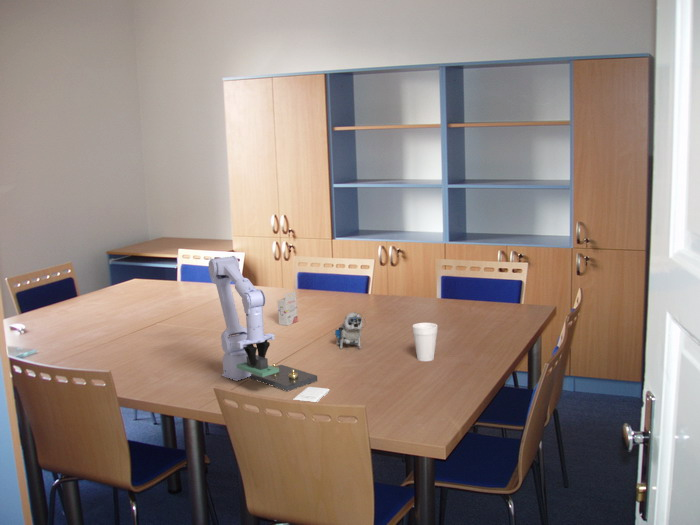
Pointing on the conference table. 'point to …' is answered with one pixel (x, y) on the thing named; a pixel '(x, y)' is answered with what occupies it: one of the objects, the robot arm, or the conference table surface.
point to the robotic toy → (350, 330)
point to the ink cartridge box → (288, 309)
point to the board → (258, 372)
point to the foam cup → (425, 340)
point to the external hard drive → (312, 394)
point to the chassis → (287, 378)
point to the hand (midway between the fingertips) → (257, 363)
